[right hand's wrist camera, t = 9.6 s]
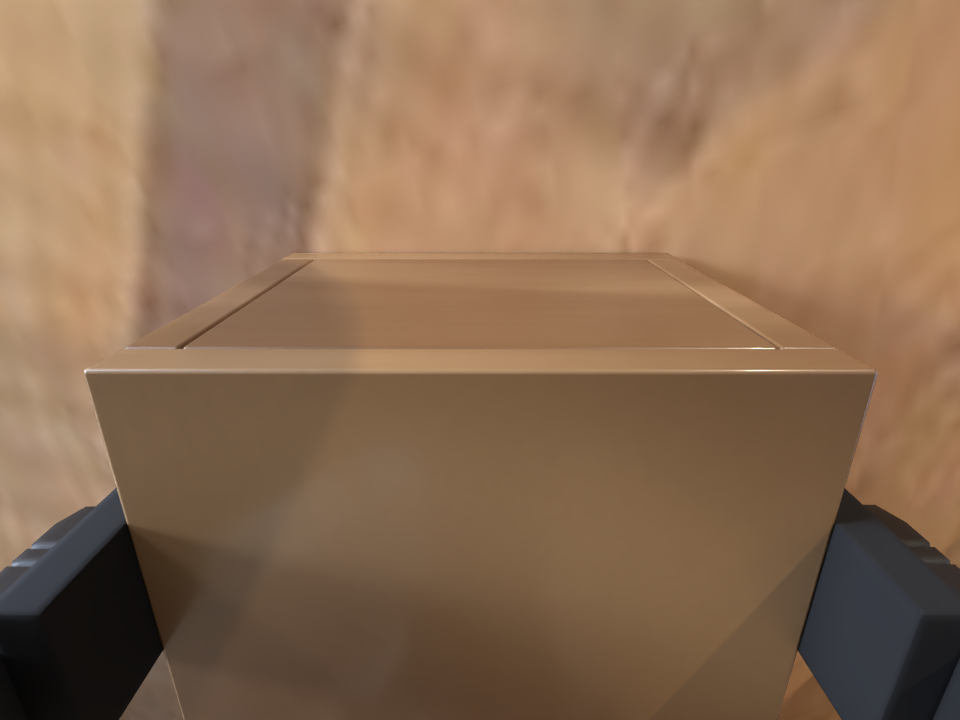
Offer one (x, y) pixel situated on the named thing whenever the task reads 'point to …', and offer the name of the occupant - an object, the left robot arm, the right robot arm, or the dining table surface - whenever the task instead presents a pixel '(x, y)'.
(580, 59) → the dining table surface
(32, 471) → the dining table surface
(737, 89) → the dining table surface
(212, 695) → the cabinet
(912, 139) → the dining table surface
